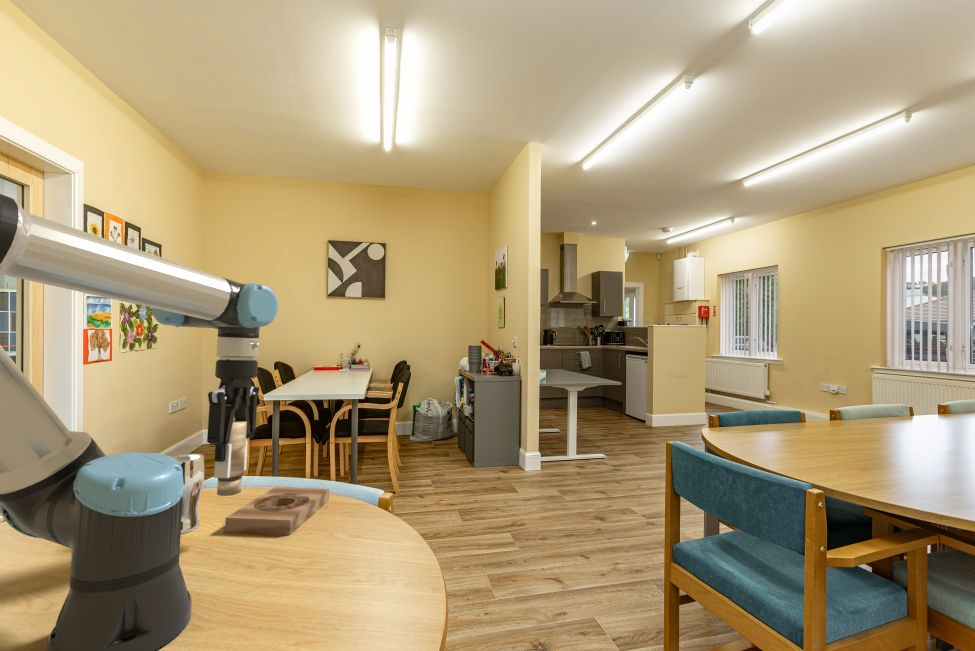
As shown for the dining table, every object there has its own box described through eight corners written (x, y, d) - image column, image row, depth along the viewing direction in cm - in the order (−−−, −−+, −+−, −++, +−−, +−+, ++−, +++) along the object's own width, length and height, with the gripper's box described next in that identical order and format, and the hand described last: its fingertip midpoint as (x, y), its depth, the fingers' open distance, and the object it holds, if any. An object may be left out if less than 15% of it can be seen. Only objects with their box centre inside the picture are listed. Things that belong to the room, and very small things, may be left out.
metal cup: (187, 536, 90) (190, 462, 91) (153, 535, 90) (157, 461, 91) (209, 522, 97) (212, 453, 98) (178, 521, 97) (181, 453, 98)
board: (290, 534, 92) (290, 520, 92) (224, 532, 92) (225, 517, 92) (328, 500, 112) (329, 488, 112) (275, 498, 112) (275, 486, 112)
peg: (233, 496, 87) (238, 425, 87) (209, 495, 87) (214, 424, 88) (247, 489, 91) (251, 421, 92) (224, 488, 92) (229, 420, 92)
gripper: (227, 360, 82) (219, 487, 80) (277, 358, 99) (271, 463, 98) (188, 358, 82) (180, 486, 81) (245, 357, 100) (239, 462, 98)
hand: (230, 473), depth 89 cm, fingers closed on peg, 5 cm apart
